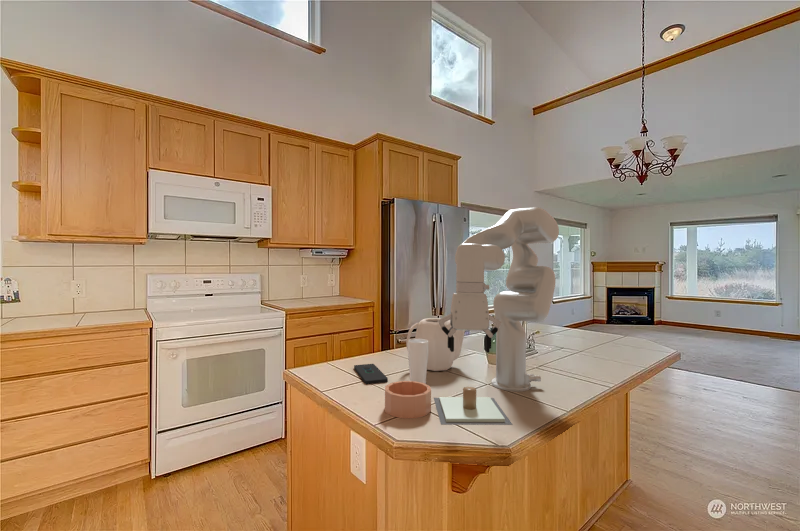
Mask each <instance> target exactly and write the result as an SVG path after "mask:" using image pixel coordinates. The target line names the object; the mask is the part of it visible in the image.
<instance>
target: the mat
mask: <svg viewBox="0 0 800 531" xmlns="http://www.w3.org/2000/svg"><path fill="white" fill-rule="evenodd" d="M490 398H491V400H492V401H493V402H494V404H495V405H496V407H497V408H498V410H499V411H500V412H501V414H502V415H503V417H504V418H505V422H446V420H445V417H444V413H443V410H442V407H441V404H440V401H439V397H433V401H434V405H435V409H436V411H437V416H438V420H439V422H440V425H441V426H442V425H443V426H444V425H446V426H447V425H449V426H450V425H455V426H459V425H460V426H462V425H463V426H465V425H466V426H469V425H470V426H474V425H475V426H485V425H486V426H488V425H492V426H494V425H495V426H497V425H498V426H503V425H504V426H513V423H512V421H511V420H510V419H509V417H508V416H507V415H506V413H505V412H504V410H503V409H502V408H501V406H500V405H499V403H497V401H496V400H495V398H494V397H490Z"/></svg>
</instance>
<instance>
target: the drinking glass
mask: <svg viewBox="0 0 800 531" xmlns="http://www.w3.org/2000/svg"><path fill="white" fill-rule="evenodd" d="M407 356H408V368H409V369H408V370H409V381H416V382H422V383H425V384H427V375H428V374H427V372H428V371H427V363H428V340H425V339H415V338H410V340H409V341H408V350H407Z"/></svg>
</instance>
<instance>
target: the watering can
mask: <svg viewBox="0 0 800 531" xmlns="http://www.w3.org/2000/svg"><path fill="white" fill-rule="evenodd" d="M441 318H442V317H429V318H428V317H426V318H423V319H421V320H420V321H419V322H415V323H414V324H412V325H411V327H410V328H409V330H408V332H407V336H406V340H405V342H406V343H405V344H406V350H407V351H408V341H409V340H411V334H412V332H413V330H414V329H416V332H415V338H414V339H425V340H428V363H427V370H428V371H433V372H439V371H448V370H449V369H451V368H452V366H453V363H454V361H456V360H457V359H458V358H459V357H460V356H461V353H462V352H461V351H462V348H463V342H464V338H465V332H466V330H457V331H456V332H455V333H454V334H453V337H454V351H453V352H451V351H450V348H448V335H447V334H446V333H445V332H444V331H443V330H442V329H441V327H440V325H439V323H438V320H439V319H441ZM444 325H445V327H446V328H447V329H448V330H449V329H450V328H451V325H450V320H449V321H447V322H445V323H444Z"/></svg>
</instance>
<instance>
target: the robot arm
mask: <svg viewBox="0 0 800 531" xmlns="http://www.w3.org/2000/svg"><path fill="white" fill-rule="evenodd" d="M559 233H560V228H559V224H558V221H557V220H555V218H554V217H553V216H552V215H551V214H550V213H549V212H548V211H547V210H545V209H544V208H542V207H538V206H533V207H521V208H514V209H509V210H508V211H506V212H505V213H504V214H503V215H502V216H501V217H500V218H499V219H498V220H497V221H496V222H495V223H494V225H493V226H490V227H487V228H486V229H483V230H482V231H479V232H477V233H474V234H473V235H471V236H469V237H467V238H466V239H465V240H464V241H463V242H462V243H461V244H459V245H458V246H457V248H456V251H455V254H454V261H455V264H456V271H455V272H456V274H455V275H456V276H455V277H456V278H455V279H456V283H455V284H456V286H455V288H456V289H455V291H456V292H453V294H452V298H451V305H450V313H448V314H447V315H445V316H443V317H440V318H441V319H439V320H438V323H439V325H440V327H441V329H442V330H443V331H444V332H445V333H446V334H447V335H448V348H450V351H451V352H453V351H454V337H453V334H454V333H455V332H456V331H457V330H465V331H471V332H472V331H475V332H476V331H478V332H479V331H480V332H481V331H483V333H484V334H485V335H484V337H483V349H484V351H485V352H486V353H490V350H491V349H492V338H493V337H494V335H495V337H496V338H495V339H496V340H495V377H494V378H492V379H491V380H490V381H491V382H490V383H491V386H493V387H494V388H496V389H499V390H503V391H506V392H507V391H508V392H526V391H529V390H530V389H531V388H532V387H531V386H532V385H531V384H532V382H541V381H542V378H541V377H542V376H541V375H538V374H537V375H535V374H534V373H528V372H527V366H526V364H527V361H526V360H527V354H526V353H527V334H526V330H525V328H524V327H523V324H522V323H521V322H529V323H543V322H545V321H546V320H547V318H548V316H549V313H550V308H551V304H552V302H553V297H554V293H555V288H556V273H555V272H554V270H553V269H552V268H551V267H549V266H544V265H538V262H539V258H538V256H537V254H536V252H535V251H534V250H533V249H532V248H531V247H530V246H529V245H530V244H533V245H534V244H551V243H553V242H554V243H555V241H556V240H558V237H559V235H560V234H559ZM510 247H511V249H512V250H511V251H512V260H511V264H510V266H509V269H508V273H507V275H506V279H505V286H506V289H508V290H505V291H504V290H503V291H500V292H498V293H497V294H496V295H495V297H493V298H494V299H493V303H492V304H493V312H494V316H492V315H490V312H489V301H488V297H487V293H485V292H486V291H490V285H489V284H486V282H485V271H487V272H492V271H497V270H499V269H501V268H502V267H503V265H504V264H505V260H506V255H505V251H503V250H506V249H508V248H510ZM449 320H450V325H451V328H450V329H449V330H448V329H447V328H446V327H445V325H444V323H445V322H447V321H449ZM490 321H491V322H493V323H494V325H493V326H492V327H491V328H490ZM489 328H490V329H489Z"/></svg>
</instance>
